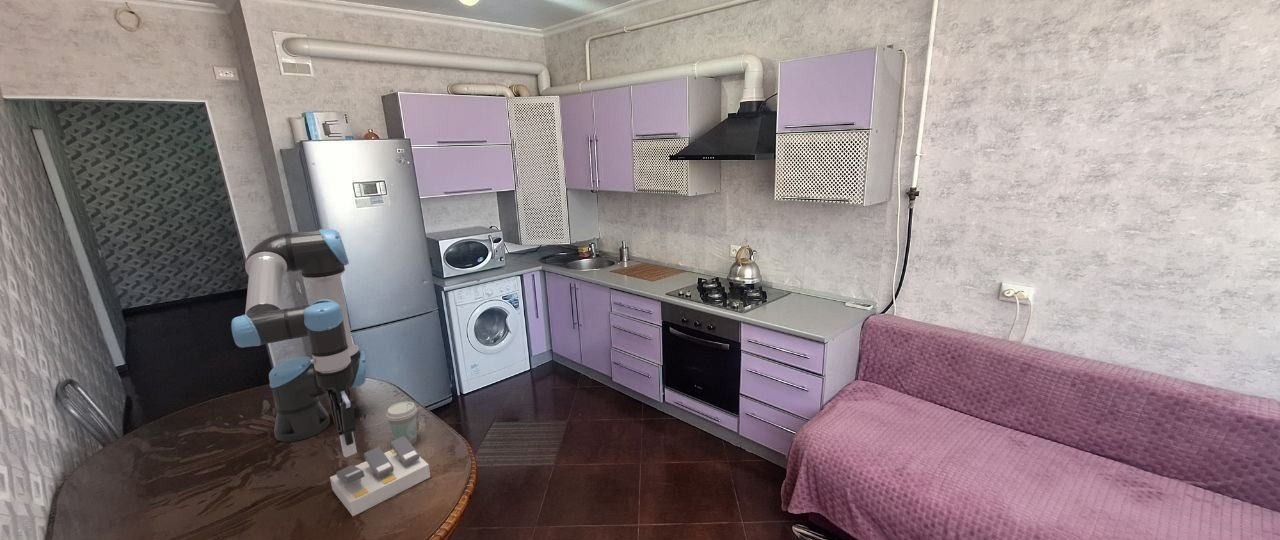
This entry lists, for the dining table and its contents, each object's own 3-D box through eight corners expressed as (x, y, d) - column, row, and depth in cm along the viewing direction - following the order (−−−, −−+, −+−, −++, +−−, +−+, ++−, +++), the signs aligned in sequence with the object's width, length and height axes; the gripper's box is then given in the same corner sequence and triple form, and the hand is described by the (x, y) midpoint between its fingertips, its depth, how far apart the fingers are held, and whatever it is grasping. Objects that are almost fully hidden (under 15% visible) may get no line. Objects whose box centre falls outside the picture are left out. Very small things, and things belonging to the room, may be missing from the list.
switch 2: (364, 457, 138) (363, 452, 137) (379, 450, 141) (379, 446, 140) (378, 478, 133) (377, 473, 132) (393, 471, 136) (393, 466, 135)
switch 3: (390, 446, 143) (390, 441, 142) (404, 439, 146) (404, 435, 145) (404, 465, 138) (404, 461, 137) (419, 458, 141) (419, 454, 140)
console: (332, 490, 136) (328, 472, 135) (406, 455, 150) (404, 438, 149) (352, 516, 126) (349, 497, 125) (430, 476, 141) (427, 459, 139)
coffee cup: (410, 451, 152) (404, 416, 149) (385, 449, 154) (379, 413, 151) (427, 435, 160) (422, 401, 157) (403, 433, 162) (397, 399, 159)
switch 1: (337, 477, 134) (335, 471, 133) (353, 470, 136) (352, 464, 136) (347, 484, 127) (345, 477, 127) (364, 476, 130) (362, 470, 130)
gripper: (307, 365, 123) (324, 450, 129) (324, 380, 114) (343, 471, 120) (341, 355, 128) (356, 437, 134) (360, 369, 120) (376, 456, 125)
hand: (350, 453), depth 127 cm, fingers closed
